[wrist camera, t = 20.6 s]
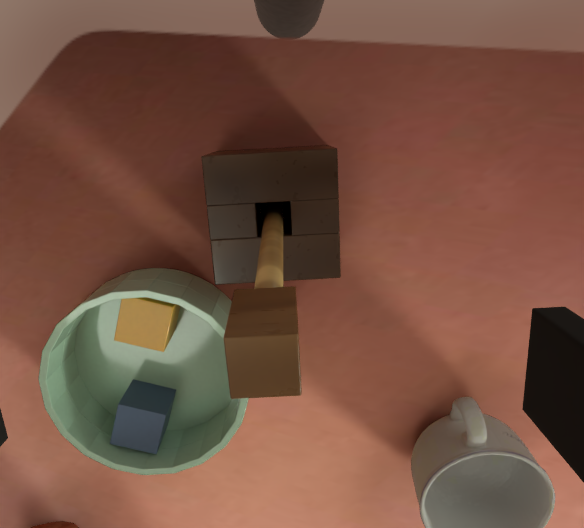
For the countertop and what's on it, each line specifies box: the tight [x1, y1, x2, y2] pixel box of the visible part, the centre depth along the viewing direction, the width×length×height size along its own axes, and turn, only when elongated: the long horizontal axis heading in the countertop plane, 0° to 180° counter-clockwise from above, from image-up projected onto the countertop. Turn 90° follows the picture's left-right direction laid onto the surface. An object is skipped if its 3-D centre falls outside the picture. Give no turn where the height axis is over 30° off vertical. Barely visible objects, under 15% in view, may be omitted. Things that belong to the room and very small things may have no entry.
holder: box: [202, 145, 341, 285], centre depth 36 cm, size 9×9×7 cm
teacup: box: [411, 397, 555, 528], centre depth 41 cm, size 14×11×8 cm
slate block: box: [110, 379, 176, 454], centre depth 41 cm, size 4×4×4 cm
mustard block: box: [114, 297, 180, 352], centre depth 38 cm, size 4×4×4 cm
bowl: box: [39, 268, 249, 475], centre depth 40 cm, size 16×16×6 cm
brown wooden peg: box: [223, 201, 301, 399], centre depth 28 cm, size 3×3×24 cm
